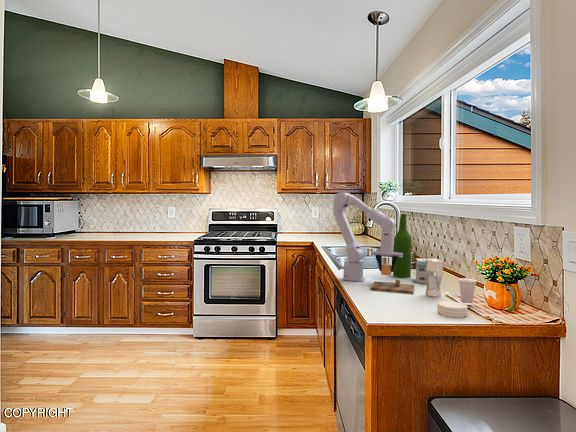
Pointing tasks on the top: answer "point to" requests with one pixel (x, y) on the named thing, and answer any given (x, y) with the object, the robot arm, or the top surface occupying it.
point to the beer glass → (433, 276)
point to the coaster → (452, 309)
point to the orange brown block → (386, 269)
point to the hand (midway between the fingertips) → (386, 271)
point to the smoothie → (467, 289)
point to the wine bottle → (402, 250)
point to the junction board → (393, 287)
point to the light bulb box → (420, 270)
